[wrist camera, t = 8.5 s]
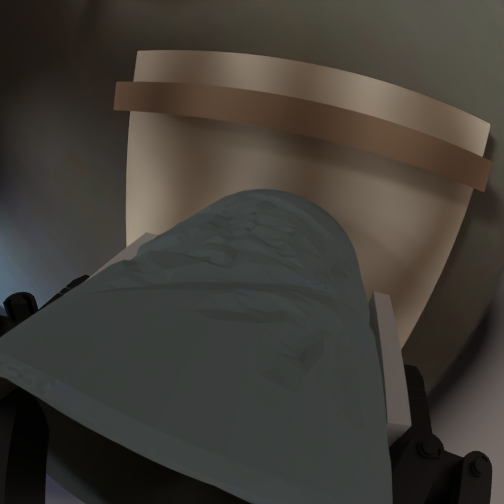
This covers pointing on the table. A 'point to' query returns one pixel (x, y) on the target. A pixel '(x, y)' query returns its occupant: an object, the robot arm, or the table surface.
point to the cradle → (305, 157)
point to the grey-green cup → (214, 366)
